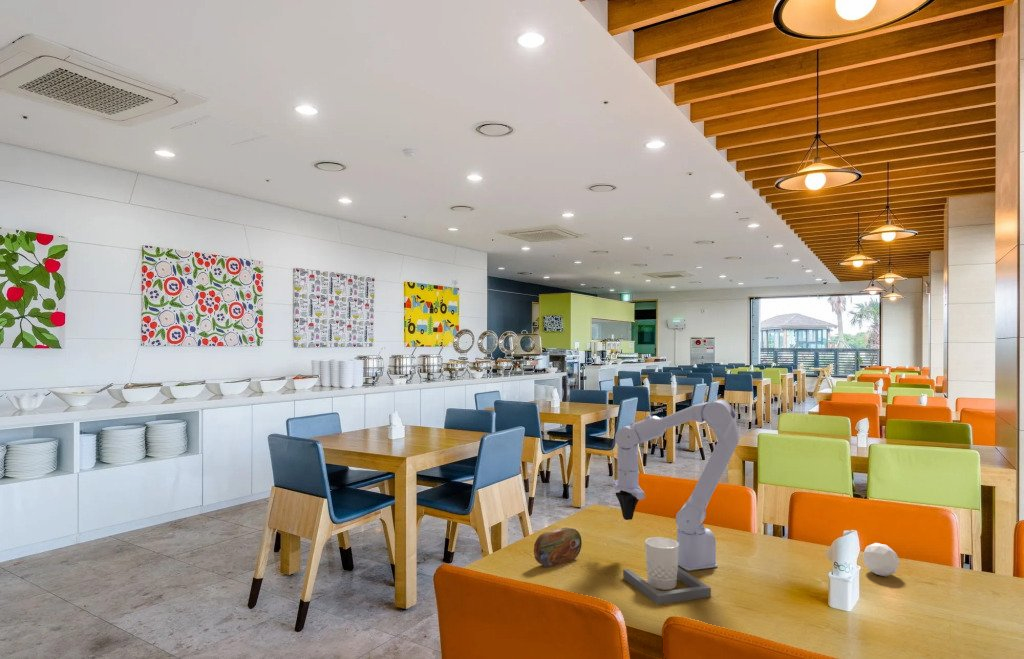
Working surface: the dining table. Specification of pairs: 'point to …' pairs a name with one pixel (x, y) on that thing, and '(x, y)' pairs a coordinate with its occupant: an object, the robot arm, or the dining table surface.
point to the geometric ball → (880, 559)
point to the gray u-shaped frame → (693, 592)
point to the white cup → (662, 562)
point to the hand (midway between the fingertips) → (627, 519)
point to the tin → (557, 547)
